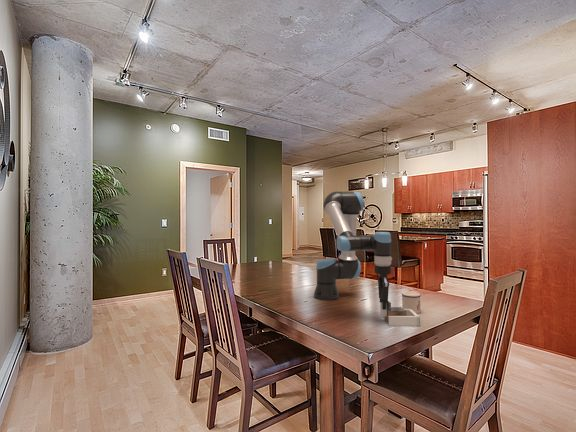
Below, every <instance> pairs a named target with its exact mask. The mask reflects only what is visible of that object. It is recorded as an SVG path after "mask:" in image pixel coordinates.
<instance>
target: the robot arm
mask: <svg viewBox="0 0 576 432" xmlns="http://www.w3.org/2000/svg"><path fill="white" fill-rule="evenodd" d="M322 206H323V211H324V213H325V214H326V215H328V217H329V220H330V222H331V224H332V226H333V229H334V231H335V233H336V235H337V238H336V249H337V250H338V251H340V255H338V258H337V259H338V260H336V258H335V257H327V258H326V257H325V258H322V259H319V260H317V262H316V286H315V289H314V293H313V297H314V299H317V300H321V299H322V300H323V301H332V300H337V299H339V298H340V293H339V292H340V291H339V290H338V287H337V280H352V279H357V278H358V277H359V276H360V274H361V271H362V265H361V260H359V259H358V258H359V257H357V256H356V252H362V251H364V252H368V251H369V252H370V251H373V252H374V257H373V258H374V259H373V260H374V261H373V262H374V273H375V274H377V275H378V277H377V283H378V284H377V287H378V289H377V290H378V299H379V311H380V312H379V316H380V317H383V316H387V302H388V301H389V291H390V289H389V287H390V282H389V278H388V275H391V274H392V266H391V265H392V260H393V258H392V234H391V233H390V232H388V231H376V232H374V234H368V235H365V234H364V235H357V227H358V226H357V222H358V216H360V213H361V212H362V211H363V210H364V206H365V201H364V197H363V195H362V193H361V192H359V191H354V190H353V191H349V190H348V191H333V192H330V193H329V194H328V195H326V196H325V198H324V200H323V205H322Z"/></svg>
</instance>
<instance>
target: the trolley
mask: <svg viewBox="0 0 576 432" xmlns="http://www.w3.org/2000/svg"><path fill="white" fill-rule="evenodd" d="M389 316H407V311H406V310H405V309H403V308H402V306H395V307H394V306H392V302H391V301H389V300H388V302H387V316H385V318H384V320H385V322H387V323H388V324H389Z"/></svg>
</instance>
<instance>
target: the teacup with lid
mask: <svg viewBox="0 0 576 432" xmlns="http://www.w3.org/2000/svg"><path fill="white" fill-rule="evenodd" d="M401 297H402V298H401V301H402V302H401V304H402V305H401V307H402V308H403V309H412V310H413V311H414V312H415V313H416V314H417V315H418V314H420V313H421V293H420V292H417V291H415V290H414V289H413V288H411V287H409V289H408V290H406V291H402V292H401Z"/></svg>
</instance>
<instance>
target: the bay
mask: <svg viewBox="0 0 576 432" xmlns="http://www.w3.org/2000/svg"><path fill="white" fill-rule="evenodd" d="M405 310H406V311H407V316H389V323H388V326H390V327H396V326H397V327H421V316H420V315H419V314H418V313H417V314H416V313H415V312H414V311H413V310H412V309H405ZM382 318H384V319H385V316H382Z"/></svg>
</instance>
